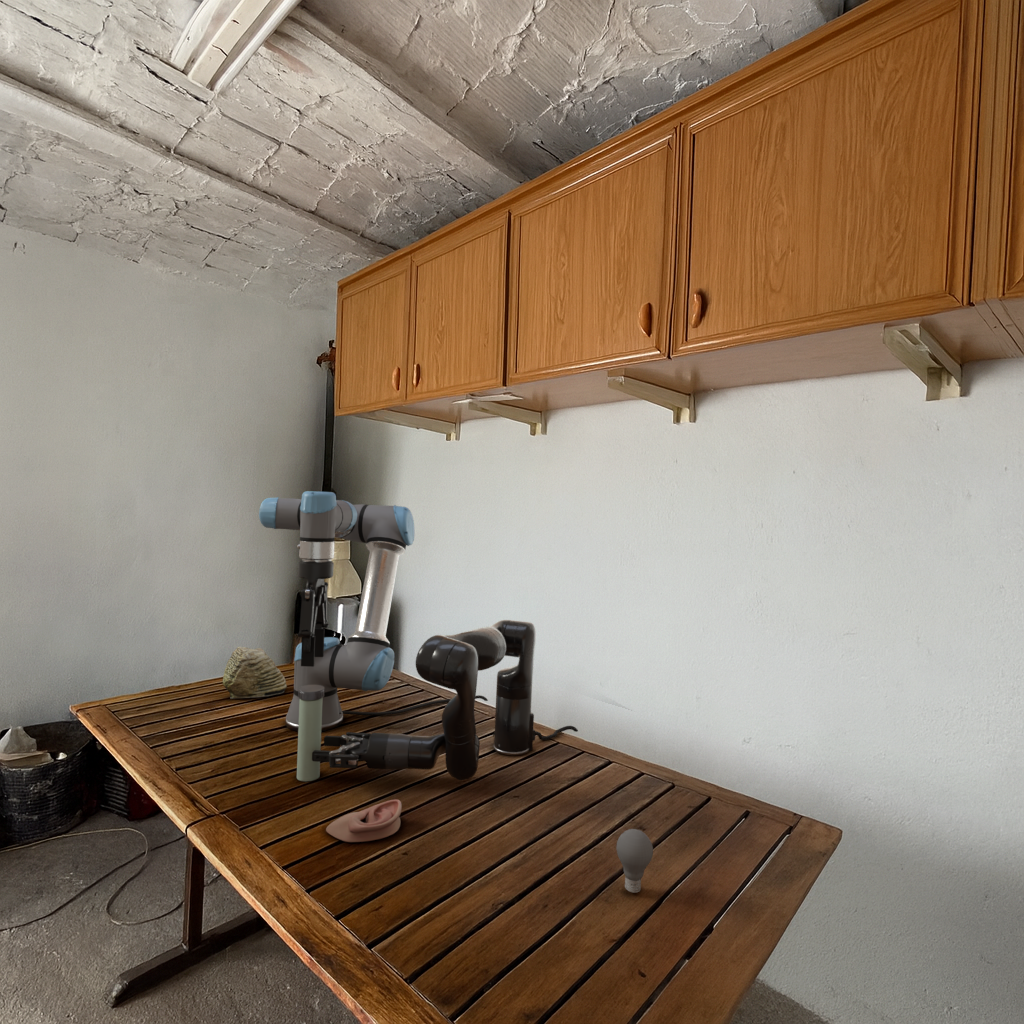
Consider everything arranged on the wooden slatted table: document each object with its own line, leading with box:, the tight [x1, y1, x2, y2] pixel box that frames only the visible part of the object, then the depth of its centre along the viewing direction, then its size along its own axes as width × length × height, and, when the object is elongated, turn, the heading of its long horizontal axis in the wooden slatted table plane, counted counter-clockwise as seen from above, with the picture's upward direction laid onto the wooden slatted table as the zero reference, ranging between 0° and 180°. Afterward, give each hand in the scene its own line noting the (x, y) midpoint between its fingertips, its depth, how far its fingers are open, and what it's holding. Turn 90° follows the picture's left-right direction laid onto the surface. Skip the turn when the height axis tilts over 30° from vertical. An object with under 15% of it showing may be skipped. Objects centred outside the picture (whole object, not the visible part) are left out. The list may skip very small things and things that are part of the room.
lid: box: [298, 685, 325, 700], centre depth 143 cm, size 6×6×2 cm
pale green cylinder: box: [296, 698, 323, 782], centre depth 143 cm, size 5×5×20 cm
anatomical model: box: [325, 799, 403, 843], centre depth 122 cm, size 13×4×12 cm
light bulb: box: [615, 828, 654, 894], centre depth 106 cm, size 6×6×10 cm
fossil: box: [222, 646, 288, 699], centre depth 198 cm, size 9×18×15 cm, turn 132°
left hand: (312, 661), depth 143 cm, fingers open, 8 cm apart
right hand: (318, 748), depth 143 cm, fingers open, 8 cm apart
